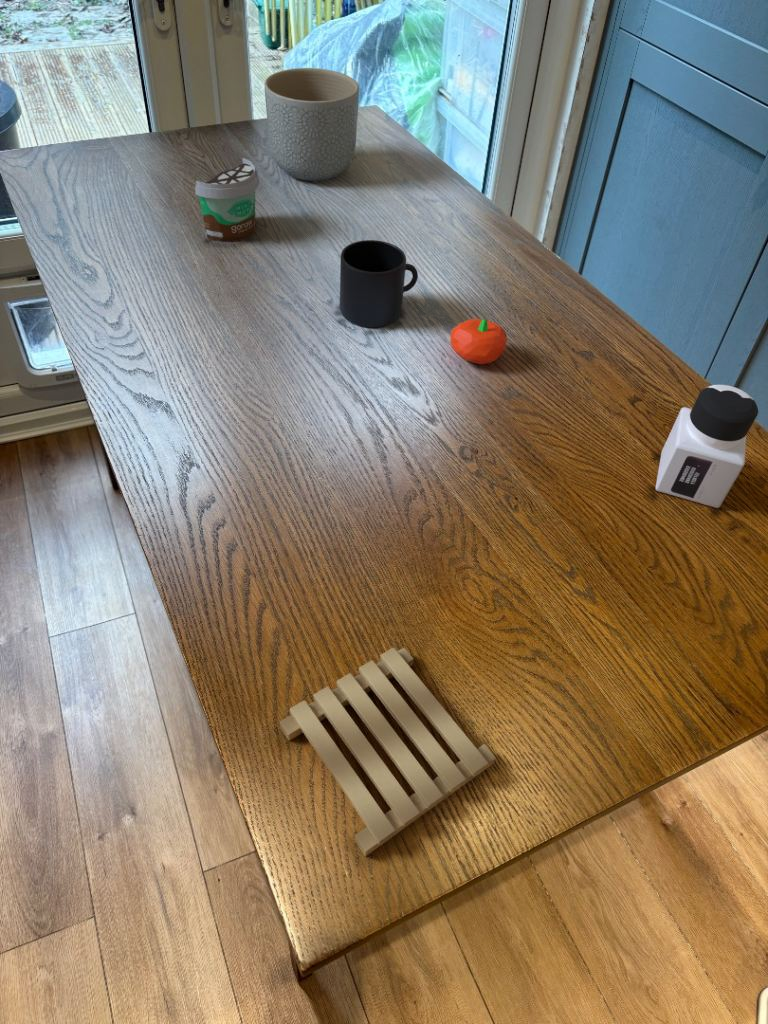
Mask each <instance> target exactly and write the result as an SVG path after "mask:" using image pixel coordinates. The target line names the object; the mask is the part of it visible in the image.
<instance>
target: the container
mask: <svg viewBox="0 0 768 1024" xmlns="http://www.w3.org/2000/svg"><path fill="white" fill-rule="evenodd" d="M758 415H759V407H758V405H757V403H756V401H755V399H754V398H753V397H752V396H751V395H750V394H748V393H747V392H746V391H744V390H742V389H740V388H738V387H735V386H732V385H728V384H712V385H709V386H707V387H704V388H702V389H701V391H699V394H698V395H697V398H696V400H695V401H694V404H693V406H692V408H689V407H684V406H683V407H681V409H680V410H679V413H678V415H677V417H676V418H675V419H676V420H675V421H674V424H673V426H672V428H671V431H670V432H669V434H668V436H667V439H666V441H665V443H664V445H663V447H662V450H661V453H660V460H659V465H658V470H657V476H656V483H655V491H656V492H659V493H662V494H666V495H670V496H672V497H676V498H680V499H683V500H687V501H691V502H694V503H698V504H701V505H705V506H708V507H711V508H715V509H719V508H721V506H722V504H723V502H724V501H725V499H726V497H727V495H728V494H729V492H730V490H731V489H732V487H733V485H734V484H735V481H736V480H737V479H738V477H739V475H740V473H741V471H742V469H743V468H744V466H745V464H746V447H747V435H748V433H749V432H750V430H751V428H752V426H753V424H754V422H755V420H756V419H757V417H758Z"/></svg>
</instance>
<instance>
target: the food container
mask: <svg viewBox="0 0 768 1024" xmlns="http://www.w3.org/2000/svg"><path fill="white" fill-rule="evenodd" d="M259 185H260V178H259V175H258V171H257V169H256V167H255V165H254V163H252V162H251V161H250V160H249V159H247V158H245V157H242V164H239V165H238V166H236V167H234V168H232V169H227V170H223V171H220V172H219V173H218V174H216V175H215V176H214V177H213V178H211V179H209V180H208V181H206V182H203V181H199V180H195V188H194V189H195V190H194V191H195V193H194V194H195V195H196V196H198V198H199V199H198V200H199V203H200V208H201V213H202V214H201V215H202V218H203V223H204V227H205V233H206V237H207V239H209V240H212V241H216V242H226V243H227V242H228V243H229V242H237V241H242V240H246V239H247V238H249V237H251V236H252V235H253V234H254V232H255V230H256V189H258V187H259Z"/></svg>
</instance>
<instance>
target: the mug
mask: <svg viewBox="0 0 768 1024" xmlns="http://www.w3.org/2000/svg"><path fill="white" fill-rule="evenodd" d="M339 266H340V271H339V273H340V274H339V311H340V313H341V315H342V316H343V318H344V319H345V320H346V321H348V322H349V323H351V324H354V325H357V326H359V327H364V328H381V327H386V326H389V325H391V324H394V323H395V322H397V320H399V318H400V317H401V315H402V312H403V300H404V294H405V293H406V292H408V291H411V289H413V288H414V286H415V285H416V284H417V282H418V278H419V274H418V270H417V268H416V267H415V265H413V264H411V263H407V256H406V254H405V252H404V251H403V250H402V249H401V248H400V247H399V246H397V245H395V244H393V243H390V242H387V241H383V240H375V239H365V240H357V241H355V242H352V243H349V244H348V245H346V246H345V247H344V248H343V249H342V250H341V253H340V265H339ZM406 271H409V272H411V275H412V277H411V280H410V281H409V282H408V283H407V284H406V285H405V277H406Z"/></svg>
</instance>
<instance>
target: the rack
mask: <svg viewBox="0 0 768 1024" xmlns="http://www.w3.org/2000/svg"><path fill="white" fill-rule="evenodd" d="M379 660H380V661H379V662H377V663H376V662H375V661H374V660H373V659H372V660H370V661H368V662H366V663H365V664H363V665H361V666H359V668H358V673H359V674H357V675H355V676H354V675H353V674H352V673H351V672H349V673H348V674H346V675H344V676H343V677H341V678H339V679H337V680H336V687H335V688H334V689H331V688H330V686H326V687H324V688H322V689H320V690H319V691H317V692H315V693H313V701H312V702H310V703H308V702H307V701H306V700H305V699H304V700H302V701H300V702H298V703H297V704H295V705H294V706H291V707H290V708H289V713H290V714H289V715H288V716H287V717H285V718H283V719H282V720H280V721H279V727H280V730H281V731H282V733H283V734H284V736H285V737H286V739H287V741H291V740H293V739H294V738H297V737H298V736H299V735H301V734H304V736H305V737H306V739H307V740H308V742H309V743H310V745H311V746H312V748H313V750H314V751H315V752H316V754H317V755H318V757H319V758H320V760H321V761H322V762H323V764H324V765H325V767H326V768H327V770H328V772H329V773H330V774H331V775H332V778H333V779H334V780H335V782H336V783H337V785H338V786H339V788H340V789H341V790H342V792H343V794H344V795H345V796H346V798H347V799H348V802H350V804H351V805H352V807H353V808H354V810H355V812H356V813H357V814H358V815H359V817H360V819H361V820H362V822H363V823H364V825H365V826H366V827H364V828H363V829H362V830H360V831H359V832H357V833H356V834H354V842H355V844H356V845H357V847H358V848H359V850H360V852H361V853H362V854H363V856H364V857H367V856H369V855H370V854H371V853H373V852H374V851H375V850H376V849H378V848H379V847H381V846H382V845H384V844H385V843H387V842H388V841H390V839H392V838H394V836H396V835H397V834H399V833H400V832H401V831H403V830H404V829H406V828H407V827H409V826H410V825H411V824H413V823H414V822H415V821H416V820H418V819H420V818H421V817H423V816H424V815H425V814H426V813H428V812H429V811H430V810H432V809H433V808H435V807H436V806H437V805H439V804H441V802H443V801H444V800H446V799H447V798H449V796H452V795H453V794H454V793H456V792H457V791H458V790H460V789H461V788H462V787H463V786H465V785H466V784H468V783H469V782H470V781H471V780H473V779H475V778H476V777H477V776H479V775H480V774H482V773H484V771H485V770H487V769H488V768H490V767H491V766H492V765H494V764H495V761H496V759H497V758H496V756H495V755H494V753H493V752H492V751H491V750H490V748H489V747H488V746H487V745H486V743H484V744H482V745H480V746H479V747H478V748H477V747H476V746H475V744H474V743H473V742H472V741H471V740H470V738H469V737H468V736H467V735H466V733H465V732H464V731H463V730H462V729H461V728H460V726H459V725H458V723H457V722H456V721H455V720H454V719H453V717H452V716H451V715H450V714H449V713H448V711H446V709H445V708H444V707H443V705H442V704H441V703H440V702H439V700H438V699H437V698H436V697H435V695H434V694H433V693H432V692H431V691H430V689H428V687H427V686H426V685H425V684H424V681H422V680H421V679H420V678H419V676H418V675H417V673H415V671H414V670H413V668H411V667H412V666H413V665H414V657H413V656H412V655H411V653H410V652H409V651H408V650H407V648H406V647H402V648H401V649H399V650H397V649H396V648H395V647H392V648H390V649H388V650H386V651H384V652H382V653H381V654H380V655H379ZM392 678H394V679H395V680H396V681H397V683H398V684H399V685H400V686H401V687H402V689H403V690H404V691H405V693H406V694H407V695H408V696H409V697H410V699H411V700H412V701H413V702H414V705H416V706H417V708H418V709H419V710H420V711H421V713H422V714H423V715H424V717H425V718H426V719H427V720H428V721H429V723H430V724H431V725H432V727H433V728H434V729H435V730H436V732H437V733H438V734H439V735H440V736H441V738H442V739H443V740H444V741H445V743H446V744H447V745H448V746H449V748H450V749H451V751H452V752H453V753H454V754H455V755H456V757H457V758H458V759H459V761H457V762H456V763H454V761H453V760H452V758H450V756H449V755H448V754H447V752H446V751H445V750H444V748H443V747H442V746H441V744H440V743H439V742H438V741H437V739H435V737H434V736H433V735H432V733H431V731H429V729H428V728H427V727H426V726H425V725H424V723H423V722H422V720H421V719H420V718H419V717H418V716H417V714H416V713H415V712H414V711H413V709H412V708H411V706H410V705H409V704H408V703H407V702H406V700H405V699H404V698H403V697H402V695H401V694H400V693H399V691H398V690H397V689H396V688H395V687H394V685H393V684H392V682H391V681H390V680H391V679H392ZM371 691H372V692H373V693H374V694H375V696H376V697H377V698H378V699H379V700H380V702H381V703H382V704H383V706H384V707H385V709H386V710H387V711H388V713H389V714H390V715H391V716H392V717H393V719H394V720H395V722H396V723H397V724H398V726H399V727H400V728H401V730H403V732H404V733H405V735H406V736H407V737H408V739H409V740H410V741H411V742H412V744H413V745H414V746H415V748H416V749H417V750H418V752H419V753H420V754H421V755H422V757H423V758H424V759H425V761H426V762H427V763H428V764H429V766H430V767H431V769H432V770H433V771H434V772H435V774H436V775H437V776H436V777H435V778H434V779H432V778H431V776H430V775H429V774H428V773H427V771H426V770H425V769H424V767H423V766H422V765H421V764H420V763H419V761H418V760H417V758H416V757H415V756H414V754H413V753H412V751H411V750H410V749H409V747H407V745H406V744H405V742H403V740H402V738H401V737H400V736H399V735H398V734H397V732H396V731H395V729H394V728H393V727H392V726H391V724H390V723H389V721H388V720H387V719H386V718H385V716H384V715H383V713H381V711H380V709H378V707H377V706H376V704H375V703H374V702H373V700H372V699H371V698H370V696H369V695H368V693H369V692H371ZM348 705H350V706H351V707H352V708H353V710H354V711H355V713H356V714H357V715H358V717H359V718H360V719H361V721H362V722H363V724H364V725H365V726H366V728H368V730H369V731H370V733H371V734H372V736H373V738H374V739H376V741H377V742H378V744H379V746H381V748H382V749H383V750H384V752H385V753H386V755H387V756H388V758H389V759H390V760H391V761H392V763H393V764H394V765H395V767H396V768H397V769H398V771H399V772H400V774H401V775H402V776H403V778H404V779H405V780H406V782H407V783H408V784H409V786H410V787H411V789H412V790H413V791H414V793H412V794H411V795H410V796H409V795H408V794H407V792H406V791H405V789H404V788H403V786H401V784H400V782H399V781H398V780H397V779H396V777H395V776H394V774H393V773H392V771H391V770H390V769H389V768H388V766H387V765H386V763H385V762H384V761H383V759H382V758H381V756H379V754H378V753H377V751H376V750H375V749H374V747H373V745H372V744H371V743H370V742H369V740H368V738H367V737H366V736H365V734H364V733H363V732H362V731H361V729H360V728H359V726H358V725H357V723H356V722H355V721H354V719H353V718H352V717H351V716H350V714H349V712H347V710H346V708H345V707H347V706H348ZM325 719H327V720H328V722H329V723H330V724H331V726H332V727H333V729H334V730H335V732H336V733H337V734H338V736H339V737H340V739H341V740H342V741H343V743H344V744H345V746H346V747H347V748H348V750H349V752H350V754H352V755H353V757H354V758H355V760H356V761H357V762H358V764H359V765H360V767H361V768H362V770H363V771H364V773H365V774H366V775H367V777H368V778H369V780H370V781H371V782H372V784H373V785H374V787H375V789H377V791H378V792H379V794H380V796H381V797H382V798H383V800H384V801H385V802H386V804H387V806H388V807H389V808H390V809H389V811H387V812H384V811H383V810H382V809H381V807H380V806H379V804H378V803H377V801H376V800H375V798H374V797H373V795H372V794H371V793H370V791H369V790H368V788H367V787H366V785H365V784H364V782H363V781H362V780H361V778H360V777H359V775H358V774H357V772H356V771H355V770H354V768H353V767H352V766H351V764H350V763H349V761H348V760H347V759H346V757H345V755H344V754H343V752H342V751H341V750H340V748H339V747H338V745H337V744H336V742H335V741H334V739H333V738H332V737H331V735H330V734H329V732H328V731H327V729H326V728H325V727H324V725H323V724H322V723H321V722H323V721H324V720H325Z"/></svg>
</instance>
